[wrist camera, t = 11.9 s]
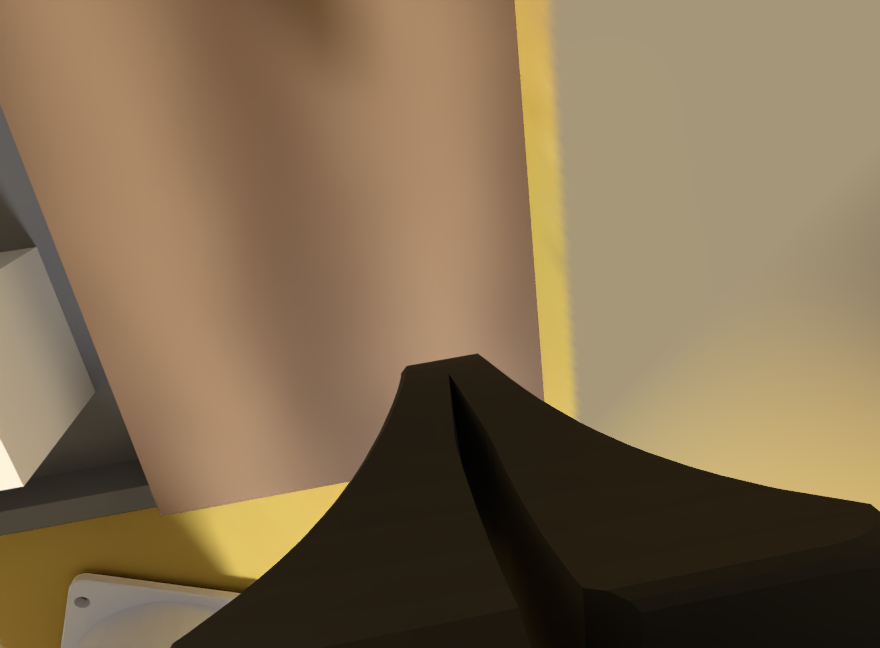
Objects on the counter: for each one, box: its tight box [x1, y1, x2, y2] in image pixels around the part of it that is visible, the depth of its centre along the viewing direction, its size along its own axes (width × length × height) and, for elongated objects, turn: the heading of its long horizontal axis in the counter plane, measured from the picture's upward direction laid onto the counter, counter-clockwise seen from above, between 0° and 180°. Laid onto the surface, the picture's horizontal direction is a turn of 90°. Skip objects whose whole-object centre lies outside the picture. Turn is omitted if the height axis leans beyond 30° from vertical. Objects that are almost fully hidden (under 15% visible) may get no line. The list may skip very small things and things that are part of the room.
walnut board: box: [0, 0, 544, 516], centre depth 16 cm, size 12×20×3 cm, turn 7°
